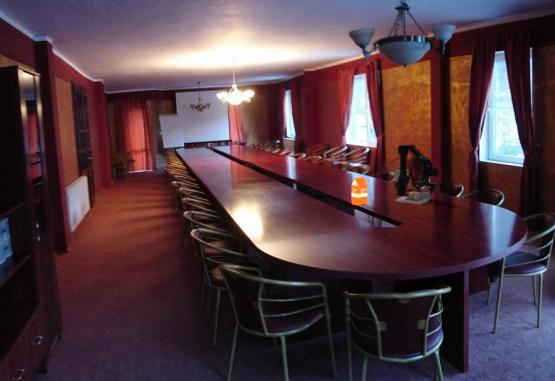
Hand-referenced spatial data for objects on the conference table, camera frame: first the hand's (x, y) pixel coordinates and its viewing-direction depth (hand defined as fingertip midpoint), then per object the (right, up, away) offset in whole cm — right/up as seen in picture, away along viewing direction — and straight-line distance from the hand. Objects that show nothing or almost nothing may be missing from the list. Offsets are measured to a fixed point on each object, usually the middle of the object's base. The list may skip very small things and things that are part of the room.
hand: (424, 195), depth 364 cm
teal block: (0, -3, 0) cm, 3 cm away
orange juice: (-51, -6, -7) cm, 52 cm away
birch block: (-10, -2, -8) cm, 13 cm away
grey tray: (-12, -4, -6) cm, 14 cm away
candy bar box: (-6, +5, +46) cm, 47 cm away
